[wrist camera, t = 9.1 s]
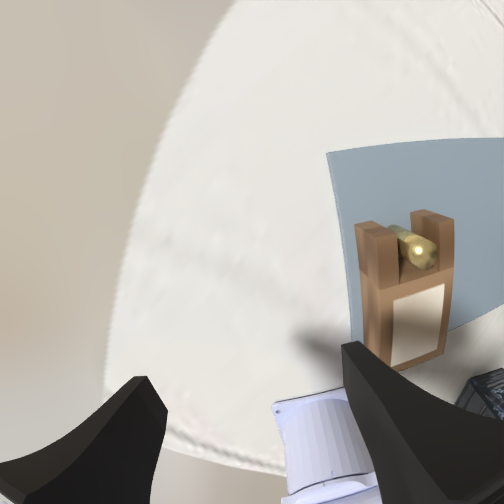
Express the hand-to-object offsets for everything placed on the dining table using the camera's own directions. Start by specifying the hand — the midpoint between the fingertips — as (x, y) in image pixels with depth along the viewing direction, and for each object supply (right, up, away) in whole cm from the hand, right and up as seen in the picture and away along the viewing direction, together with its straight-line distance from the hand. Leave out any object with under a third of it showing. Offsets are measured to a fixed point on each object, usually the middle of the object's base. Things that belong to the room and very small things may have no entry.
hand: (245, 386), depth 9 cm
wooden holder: (+10, +2, +9) cm, 14 cm away
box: (+30, -13, +14) cm, 35 cm away
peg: (+10, +6, +8) cm, 14 cm away
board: (+15, +5, +9) cm, 18 cm away
